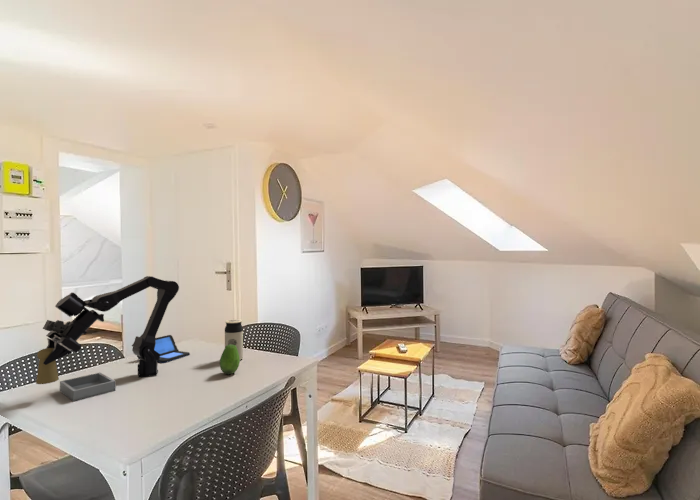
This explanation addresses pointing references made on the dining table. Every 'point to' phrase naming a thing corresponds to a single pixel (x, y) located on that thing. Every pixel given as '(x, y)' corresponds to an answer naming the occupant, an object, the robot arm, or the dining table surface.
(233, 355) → the avocado
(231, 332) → the travel mug
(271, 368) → the dining table surface
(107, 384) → the tray
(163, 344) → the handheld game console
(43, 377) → the cork
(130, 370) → the dining table surface
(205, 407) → the dining table surface
